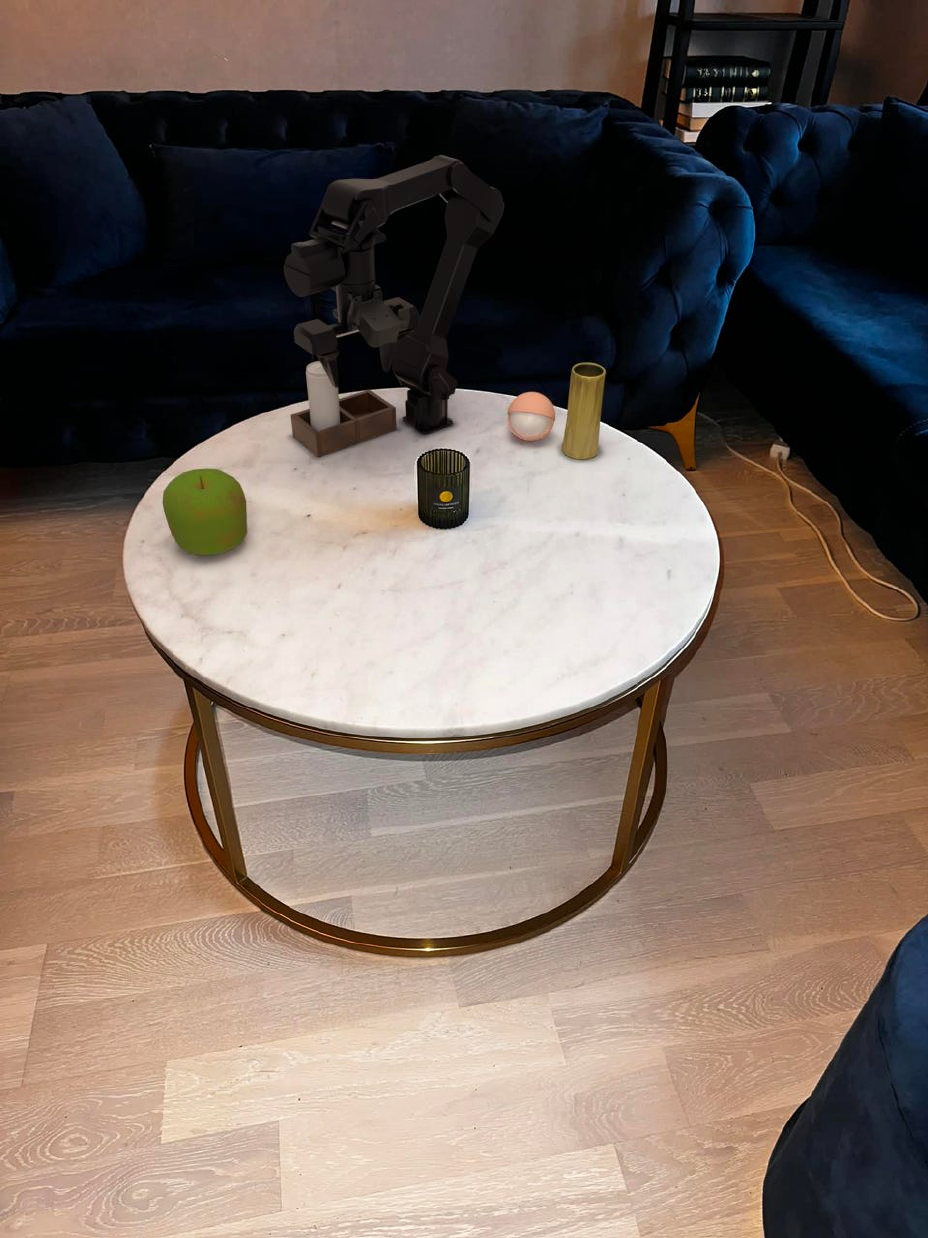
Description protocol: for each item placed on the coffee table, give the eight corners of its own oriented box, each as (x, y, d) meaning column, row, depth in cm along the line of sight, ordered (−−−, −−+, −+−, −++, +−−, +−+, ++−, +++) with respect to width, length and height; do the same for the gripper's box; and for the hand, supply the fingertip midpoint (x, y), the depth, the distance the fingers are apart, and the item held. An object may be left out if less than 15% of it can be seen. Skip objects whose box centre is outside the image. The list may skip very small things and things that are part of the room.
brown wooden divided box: (370, 410, 164) (369, 389, 161) (396, 429, 159) (395, 407, 156) (292, 436, 156) (290, 414, 154) (317, 457, 152) (315, 434, 149)
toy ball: (501, 444, 156) (503, 401, 151) (511, 422, 161) (514, 380, 156) (548, 452, 154) (552, 408, 149) (557, 430, 160) (561, 387, 155)
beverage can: (327, 424, 158) (321, 357, 150) (347, 434, 156) (342, 366, 148) (306, 435, 155) (299, 367, 147) (326, 445, 153) (320, 377, 145)
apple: (156, 548, 132) (140, 482, 125) (209, 511, 139) (196, 447, 132) (216, 574, 128) (202, 507, 121) (267, 535, 135) (258, 470, 128)
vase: (556, 455, 154) (564, 374, 144) (567, 437, 158) (575, 358, 149) (592, 463, 152) (602, 381, 143) (602, 445, 156) (613, 365, 147)
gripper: (328, 311, 125) (336, 416, 135) (441, 281, 134) (440, 382, 144) (287, 285, 132) (297, 387, 142) (397, 258, 141) (399, 356, 151)
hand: (361, 378), depth 145 cm, fingers open, 9 cm apart
